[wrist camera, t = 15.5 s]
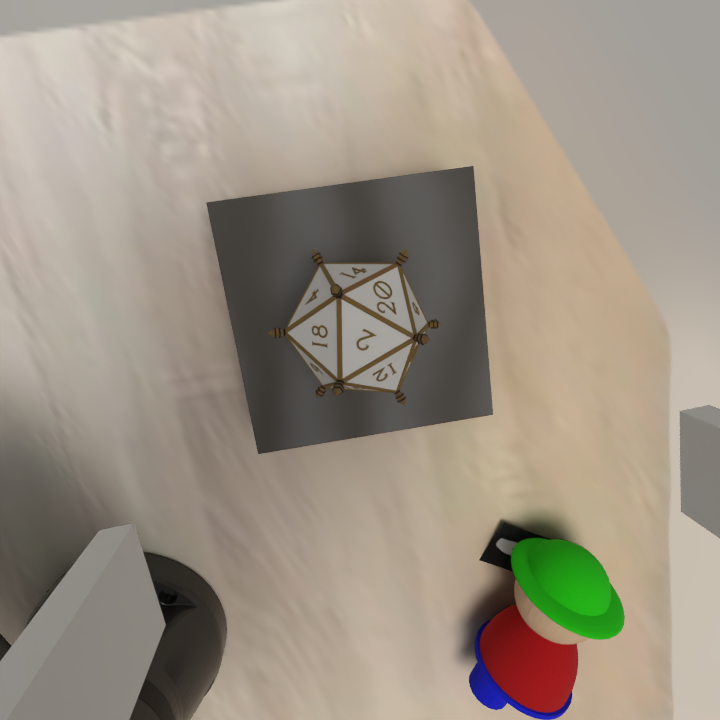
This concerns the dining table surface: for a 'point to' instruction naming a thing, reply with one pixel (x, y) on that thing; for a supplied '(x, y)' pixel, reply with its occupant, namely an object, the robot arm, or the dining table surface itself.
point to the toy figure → (541, 623)
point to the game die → (358, 326)
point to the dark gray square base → (356, 245)
